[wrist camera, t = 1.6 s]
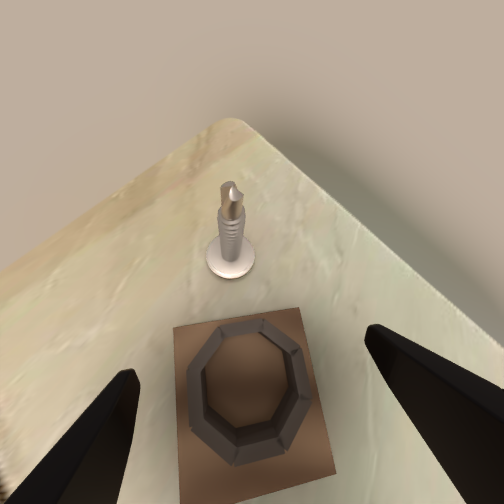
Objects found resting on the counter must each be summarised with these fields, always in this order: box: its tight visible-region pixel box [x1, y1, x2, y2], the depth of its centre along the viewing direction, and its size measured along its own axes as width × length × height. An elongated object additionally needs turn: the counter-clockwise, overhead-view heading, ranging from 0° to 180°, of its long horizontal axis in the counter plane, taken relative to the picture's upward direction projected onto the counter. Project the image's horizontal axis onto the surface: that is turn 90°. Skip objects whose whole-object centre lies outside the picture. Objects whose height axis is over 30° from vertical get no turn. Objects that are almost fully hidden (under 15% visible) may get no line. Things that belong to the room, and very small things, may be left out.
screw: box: [206, 181, 255, 279], centre depth 17 cm, size 13×5×5 cm
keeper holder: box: [173, 307, 336, 504], centre depth 17 cm, size 13×12×4 cm
